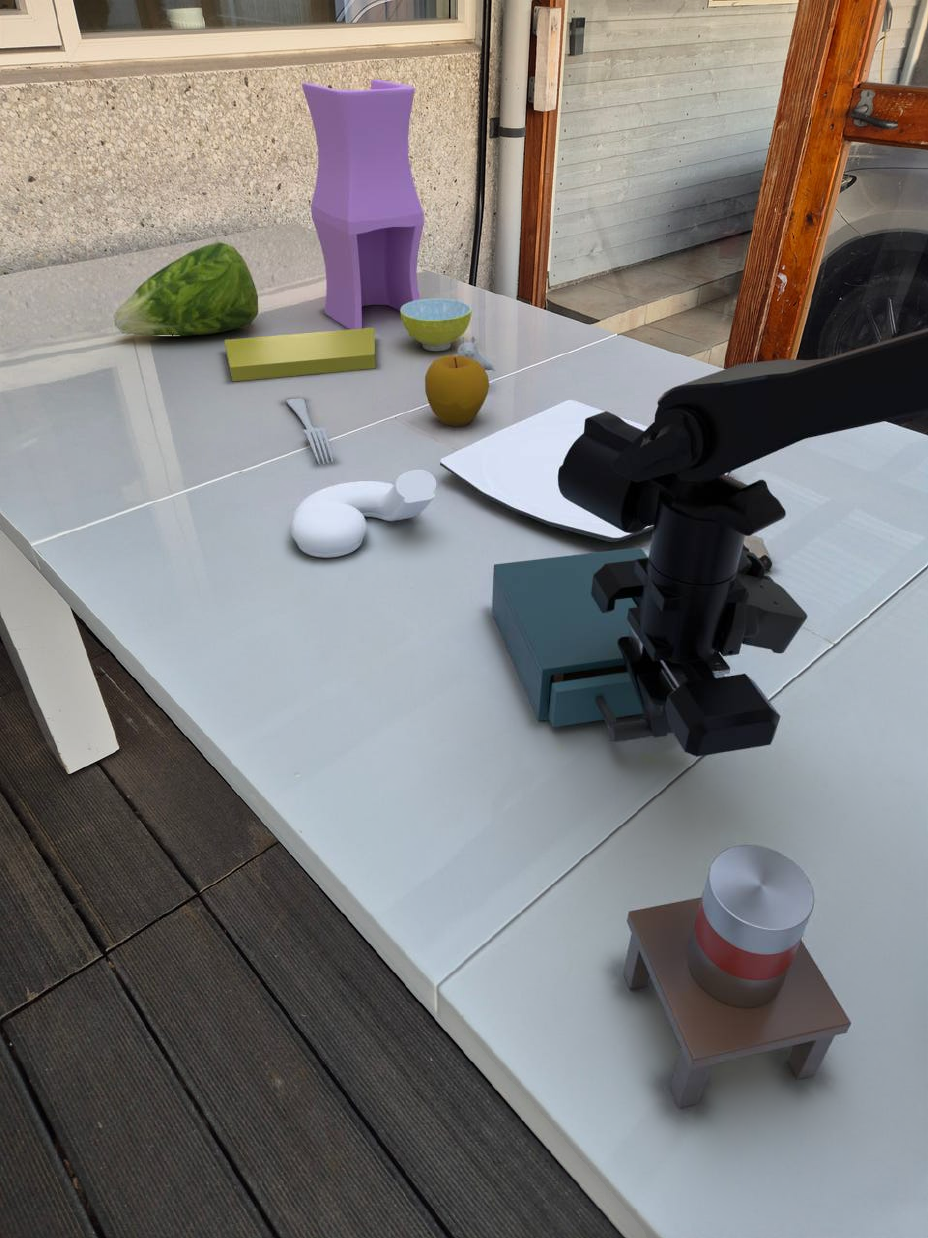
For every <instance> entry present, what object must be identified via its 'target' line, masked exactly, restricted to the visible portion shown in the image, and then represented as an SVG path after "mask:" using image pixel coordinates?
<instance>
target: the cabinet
mask: <svg viewBox="0 0 928 1238" xmlns="http://www.w3.org/2000/svg"><path fill="white" fill-rule="evenodd" d="M642 558H649V556H648V555H647V553H646V552H645V551H644V550H643V549H642V547H641V546H640V547H632V548H624V549H615V550H614V549H613V550H607V551H606V550H605V551H597V552H588V553H579V554H572V555H571V554H570V555H563V556H555V557H544V558H539V559H538V558H537V559H529V560H519V561H512V562H504V563H503V562H502V563H494V564H493V573H492V574H493V575H492V597H491V598H492V599H491V600H492V601H491V605H492V607H491V614H492V616H493V618H494V619H493V620H494V622H495V623H496V626H497V628H498V630H499V632H500V635H501V638H502V639H503V642H504V644H505V647H506V649H507V651H508V653H509V655H510V659H511V661H512V663H513V665H514V667H515V669H516V672H517V674H518V677H519V679H520V681H521V684H522V687H523V689H524V691H525V694H526V695H527V699H528V701H529V703H530V705H531V707H532V710H533V712H534V714H535V717H536V719H537V721H538V722H540V721H547V720H550V719H549V709H550V697H549V695H550V684H551V675H557V674H564V673H571V672H578V671H585V670H592V669H599V668H607V667H614V666H621V665H626V664H625V662H624V659H623V656H622V654H621V651H620V649H619V648H618V644H617V641H618V639H619V638H621V637H626V636H628V634H629V626H628V625H627V623H626V619H627V616H628V610H629V608H634V607H637V606H636V604H635V603H634V601H633V600H632V598H626V599H618V600H616V601H615V608H614V610H613V611H611V612H607V613H602V612H601V610H600V609H599V607H598V605H597V604H596V602H595V600H594V598H593V597H592V595H591V590H592V582H593V575H594V574H595V573H596V572H597V571H598V570H599V569H600V568H601V567H603V566H604V565H605V564H606V563H615V562H623V561H632V560H636V559H642Z"/></svg>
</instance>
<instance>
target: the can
mask: <svg viewBox="0 0 928 1238" xmlns="http://www.w3.org/2000/svg"><path fill="white" fill-rule="evenodd" d="M700 898H701V901H700V904H699V908H698V911H697V915H696V919H695V924H694V927H693V931H692V935H691V938H690V942H689V946H688V950H687V959H688V964H689V968H690V970H691V973H692V975H693V977H694V978H695V980H696V981H697V983H698V984H699V985H700V986H701V987H702V989H704V990H705V991H706V992H707V993H708V994H709V995H711V996H712V997H713V998H715V999H717V1000H719V1001H721V1002H723V1003H725V1004H728V1005H731V1006H735V1007H740V1008H753V1007H758V1006H762V1005H764V1004H766V1003H768V1002H770V1001H771V1000H773V999H774V998H775V997H776V996H777V994H778V993H779V991H780V989H781V987H782V985H783V982H784V980H785V977H786V975H787V972H788V970H789V967H790V965H791V963H792V961H793V959H794V956H795V954H796V951H797V949H798V946H799V944H800V941H801V940H802V939H803V936H804V932H805V930H806V927H807V925H808V923H809V920H810V917H811V915H812V913H813V910H814V906H815V892H814V887H813V885H812V883H811V881H810V878H809V877H808V876H807V874H806V873H805V872H804V870H803V869H802V868H801V867H800V866H799V865H798V864H797V863H796V862H795V861H793V860H792V859H791V858H789V857H788V856H786V855H784V854H783V853H781V852H778V851H777V850H775V849H772V848H769V847H766V846H761V845H757V844H756V845H755V844H741V845H736V846H732V847H729V848H726V849H725V850H723V851H721V852H720V853H719V854H717V856H716V857H714V859H713V861H712V862H711V864H710V866H709V870H708V874H707V878H706V881H705V884H704V887H703V890H702V894H701V896H700Z"/></svg>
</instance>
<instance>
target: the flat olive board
mask: <svg viewBox="0 0 928 1238" xmlns="http://www.w3.org/2000/svg"><path fill="white" fill-rule="evenodd" d="M224 347H225V353H226V358H227V363H228V367H229V371H230V375H231V380H232V382H243V381H254V380H265V379H274V378H286V377H297V376H305V375H306V376H307V375H317V374H319V375H320V374H328V373H337V372H338V373H339V372H350V371H360V370H371V369H376V337H375V327H364V328H363V327H362V329H340V330H339V329H338V330H328V331H327V330H326V331H316V332H315V331H314V332H303V333H292V334H291V333H290V334H279V335H278V334H277V335H266V336H253V337H243V338H242V337H241V338H232V339H224Z"/></svg>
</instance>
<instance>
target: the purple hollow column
mask: <svg viewBox="0 0 928 1238" xmlns="http://www.w3.org/2000/svg"><path fill="white" fill-rule="evenodd" d="M301 87H302V91H303V94H304V98H305V100H306V103H307V106H308V109H309V113H310V116H311V120H312V123H313V128H314V133H315V138H316V139H315V140H316V145H317V150H318V151H317V158H318V159H317V172H316V173H317V174H316V181H315V186H314V191H313V195H312V199H311V204H310V212H311V219H312V222H313V225H314V228H315V231H316V235H317V238H318V241H319V245H320V248H321V252H322V257H323V262H324V268H325V269H324V270H325V280H326V281H325V283H326V284H325V285H326V288H325V289H326V292H325V304H324V314H325V315H326V316H328V317H329V318H331V319H332V320H334V321H335V322H337V323H339V324H340V325H341V326H344V327H345V328H346V329H347V330H350V329H362V328H363V315H362V314H363V313H362V307H366V306H367V307H368V306H373V305H374V306H376V305H378V306H389V307H392V308H394V309H395V310H398V311H399V312H400V309H401V307H402V306H403V305H405V304H406V303H409V302H412V301H415V300H421V298H420V292H419V285H418V276H417V275H418V256H419V250H420V244H421V239H422V235H423V230H424V226H425V213H424V210H423V207H422V204H421V202H420V199H419V196H418V193H417V190H416V187H415V183H414V178H413V175H412V170H411V164H410V163H411V162H410V157H409V133H410V122H411V115H412V114H411V113H412V108H413V102H414V96H415V89H416V87H414V86H412V85H408V84H403V83H398V82H392V81H390V80H389V81H387V80H384V79H371V81H370V89H359V90H357V89H356V90H355V89H353V90H351V89H350V90H348V89H336V88H332V87H326V86H323V85H318V84H314V83H310V82H305V83H304V82H303V83H301Z"/></svg>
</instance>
